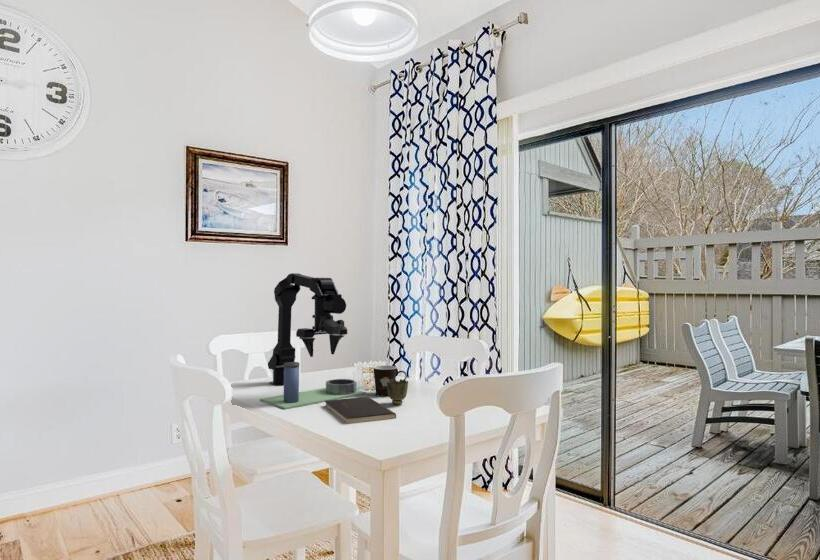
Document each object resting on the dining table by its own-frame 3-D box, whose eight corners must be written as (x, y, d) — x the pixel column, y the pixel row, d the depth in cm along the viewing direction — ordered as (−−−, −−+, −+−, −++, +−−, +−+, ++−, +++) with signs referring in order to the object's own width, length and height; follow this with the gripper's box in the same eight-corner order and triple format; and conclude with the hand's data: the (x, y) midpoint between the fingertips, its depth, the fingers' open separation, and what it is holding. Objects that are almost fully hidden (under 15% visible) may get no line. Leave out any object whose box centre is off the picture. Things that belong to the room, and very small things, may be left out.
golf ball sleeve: (280, 401, 177) (280, 363, 177) (293, 398, 181) (293, 361, 181) (288, 404, 174) (289, 365, 174) (301, 401, 177) (302, 363, 177)
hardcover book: (346, 425, 154) (346, 418, 154) (324, 407, 175) (324, 400, 175) (396, 420, 161) (396, 412, 161) (369, 403, 181) (369, 396, 181)
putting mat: (260, 400, 180) (260, 398, 180) (339, 386, 204) (339, 385, 204) (285, 409, 169) (285, 407, 169) (365, 393, 193) (365, 392, 193)
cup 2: (409, 401, 182) (409, 378, 181) (406, 407, 174) (407, 383, 174) (387, 401, 182) (388, 378, 182) (384, 406, 175) (385, 382, 175)
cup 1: (320, 391, 194) (320, 381, 194) (343, 386, 202) (343, 377, 202) (338, 396, 186) (338, 386, 186) (362, 391, 194) (362, 382, 194)
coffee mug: (369, 395, 190) (369, 368, 190) (379, 391, 198) (379, 364, 198) (398, 399, 185) (398, 371, 185) (407, 394, 193) (407, 367, 193)
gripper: (313, 314, 176) (313, 360, 176) (356, 312, 189) (356, 355, 189) (295, 312, 184) (295, 357, 184) (338, 311, 197) (337, 352, 197)
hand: (322, 355), depth 188 cm, fingers open, 9 cm apart
